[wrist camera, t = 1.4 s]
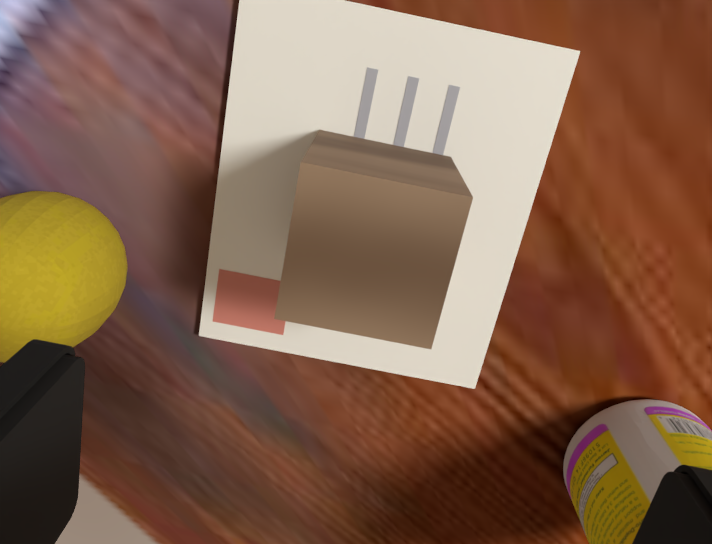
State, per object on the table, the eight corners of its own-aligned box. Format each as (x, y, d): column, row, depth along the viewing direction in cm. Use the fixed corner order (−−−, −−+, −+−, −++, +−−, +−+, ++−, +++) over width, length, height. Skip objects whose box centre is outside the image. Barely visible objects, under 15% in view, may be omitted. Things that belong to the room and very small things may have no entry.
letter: (243, -22, 22) (242, -22, 22) (577, 50, 22) (580, 51, 22) (200, 332, 27) (198, 335, 27) (473, 385, 27) (474, 389, 27)
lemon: (133, 319, 27) (38, 431, 19) (5, 268, 26) (-143, 363, 19) (173, 205, 25) (86, 281, 18) (37, 146, 24) (-114, 199, 17)
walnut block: (319, 129, 23) (300, 161, 18) (450, 156, 24) (473, 197, 18) (297, 253, 25) (274, 318, 20) (419, 278, 25) (431, 349, 20)
